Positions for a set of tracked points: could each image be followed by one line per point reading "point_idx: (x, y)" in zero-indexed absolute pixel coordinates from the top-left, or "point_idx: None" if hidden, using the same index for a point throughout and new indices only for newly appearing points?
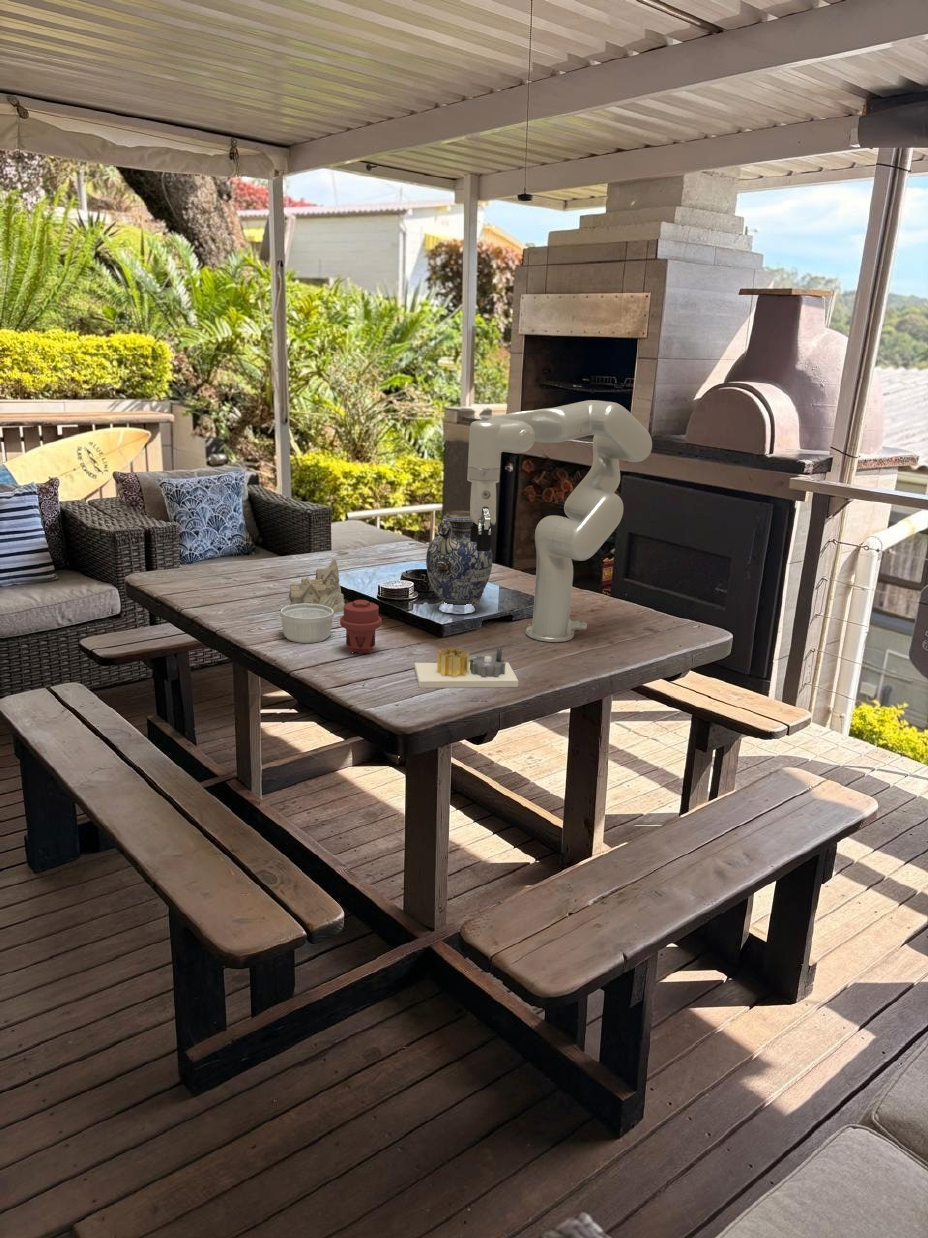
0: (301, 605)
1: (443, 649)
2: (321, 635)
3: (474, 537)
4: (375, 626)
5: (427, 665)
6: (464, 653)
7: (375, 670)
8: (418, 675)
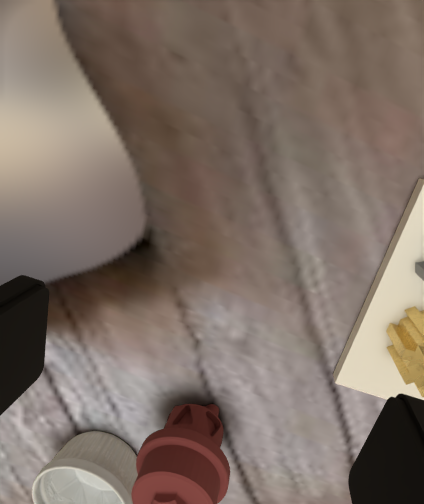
0: (37, 496)
1: (408, 376)
2: (134, 464)
3: (17, 374)
4: (224, 459)
5: (361, 367)
6: None
7: (312, 435)
8: None
